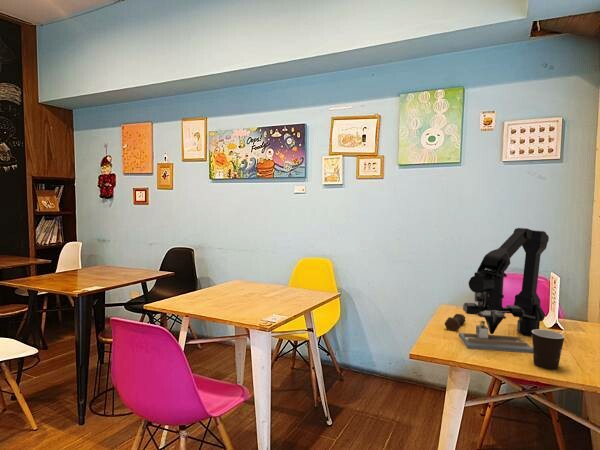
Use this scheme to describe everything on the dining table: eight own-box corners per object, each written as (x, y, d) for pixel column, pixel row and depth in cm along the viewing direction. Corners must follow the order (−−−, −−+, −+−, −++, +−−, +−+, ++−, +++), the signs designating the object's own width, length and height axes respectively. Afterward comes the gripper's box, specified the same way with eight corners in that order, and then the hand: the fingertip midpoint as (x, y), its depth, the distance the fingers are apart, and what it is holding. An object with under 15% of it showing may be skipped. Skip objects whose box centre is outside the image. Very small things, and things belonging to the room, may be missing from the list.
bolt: (462, 327, 169) (453, 335, 157) (452, 319, 171) (442, 326, 159) (471, 316, 167) (461, 323, 155) (460, 308, 170) (450, 314, 157)
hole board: (519, 340, 149) (520, 334, 148) (534, 353, 136) (535, 346, 136) (458, 335, 152) (459, 329, 152) (467, 348, 139) (468, 341, 139)
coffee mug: (553, 373, 120) (555, 340, 119) (524, 363, 127) (525, 331, 126) (572, 365, 126) (574, 334, 125) (543, 356, 133) (545, 326, 132)
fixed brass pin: (523, 341, 143) (523, 337, 143) (525, 343, 141) (525, 339, 141) (517, 341, 143) (518, 337, 143) (519, 343, 142) (520, 338, 141)
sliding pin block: (484, 337, 146) (485, 320, 146) (487, 341, 142) (488, 323, 142) (475, 336, 146) (476, 319, 146) (478, 340, 142) (479, 322, 142)
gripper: (513, 286, 149) (511, 328, 150) (460, 284, 152) (458, 325, 153) (525, 293, 138) (523, 338, 139) (468, 290, 141) (466, 334, 142)
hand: (491, 333), depth 144 cm, fingers closed
